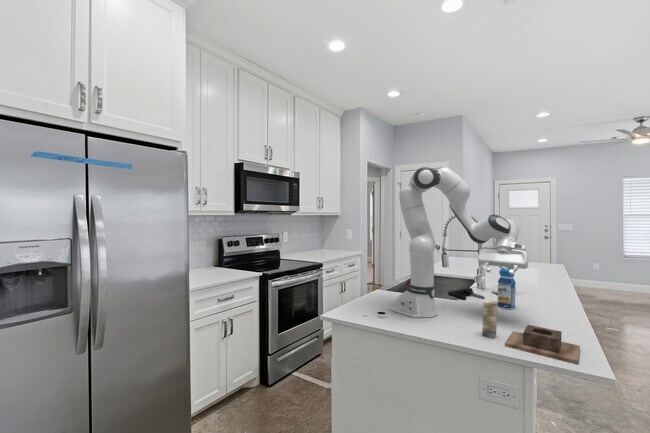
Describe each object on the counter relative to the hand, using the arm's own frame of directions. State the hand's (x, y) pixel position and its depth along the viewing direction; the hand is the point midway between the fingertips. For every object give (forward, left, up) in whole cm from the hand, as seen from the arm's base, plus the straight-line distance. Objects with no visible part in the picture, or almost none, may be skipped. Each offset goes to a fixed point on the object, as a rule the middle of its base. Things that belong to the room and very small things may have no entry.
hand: (499, 272), depth 145 cm
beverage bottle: (-3, +33, -24) cm, 40 cm away
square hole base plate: (+18, -14, -24) cm, 33 cm away
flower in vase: (-10, +63, -24) cm, 68 cm away
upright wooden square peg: (0, -15, -24) cm, 28 cm away
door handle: (-25, +42, -24) cm, 54 cm away
